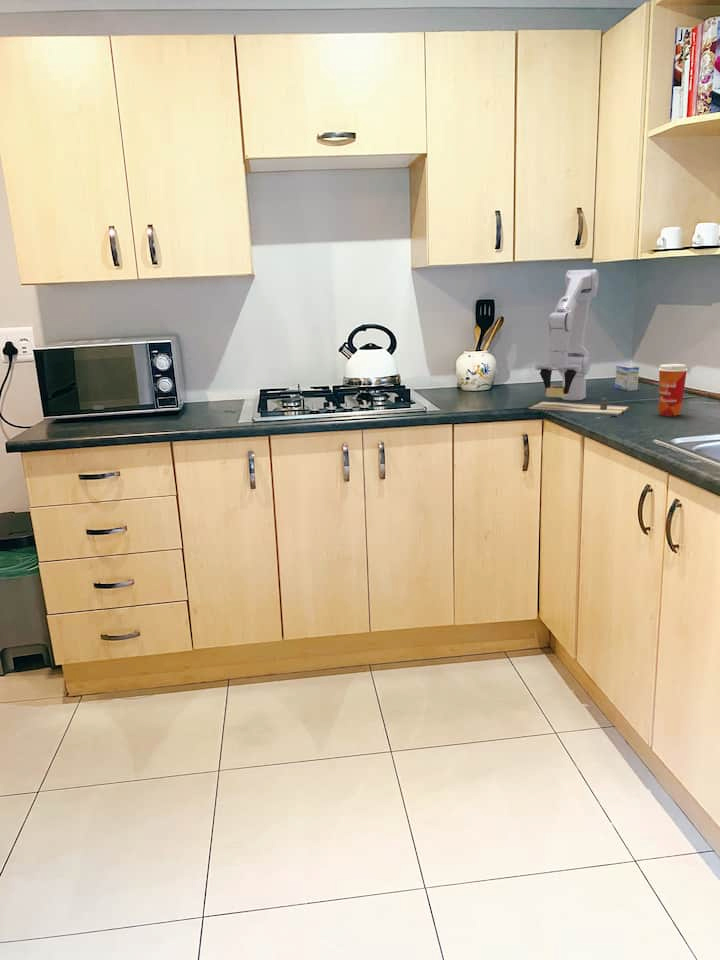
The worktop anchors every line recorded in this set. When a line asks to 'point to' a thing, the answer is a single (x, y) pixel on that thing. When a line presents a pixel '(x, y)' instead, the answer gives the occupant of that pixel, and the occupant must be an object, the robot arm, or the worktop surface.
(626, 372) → the medicine box
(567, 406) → the keeper board
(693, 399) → the worktop surface
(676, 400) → the coffee cup
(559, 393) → the brass link
